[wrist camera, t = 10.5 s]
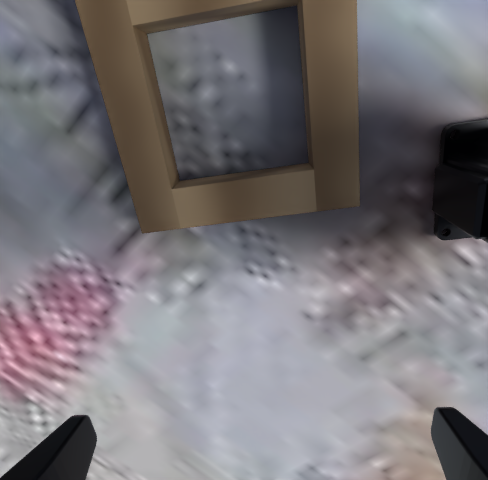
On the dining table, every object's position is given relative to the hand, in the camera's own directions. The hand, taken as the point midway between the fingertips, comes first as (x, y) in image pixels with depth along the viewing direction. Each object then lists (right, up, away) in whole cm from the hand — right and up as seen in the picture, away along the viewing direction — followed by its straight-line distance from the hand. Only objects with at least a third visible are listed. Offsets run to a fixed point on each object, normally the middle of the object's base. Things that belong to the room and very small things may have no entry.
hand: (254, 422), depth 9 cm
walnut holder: (-1, +12, +9) cm, 15 cm away
